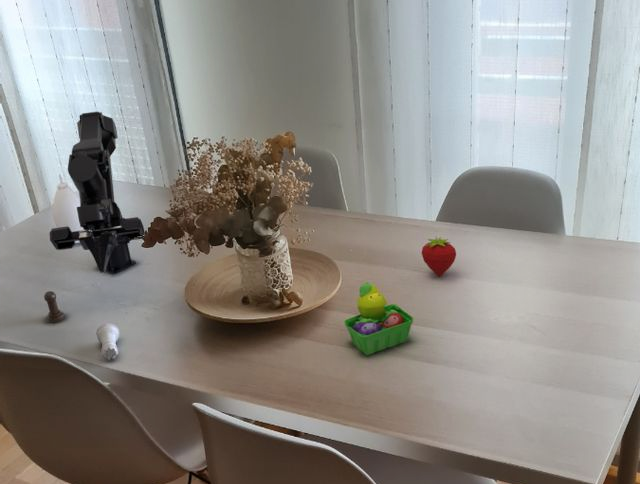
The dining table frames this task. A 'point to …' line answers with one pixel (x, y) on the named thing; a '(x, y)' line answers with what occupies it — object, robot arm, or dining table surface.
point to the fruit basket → (377, 322)
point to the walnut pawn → (53, 308)
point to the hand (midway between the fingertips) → (102, 272)
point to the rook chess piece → (108, 340)
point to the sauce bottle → (66, 208)
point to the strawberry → (439, 255)
